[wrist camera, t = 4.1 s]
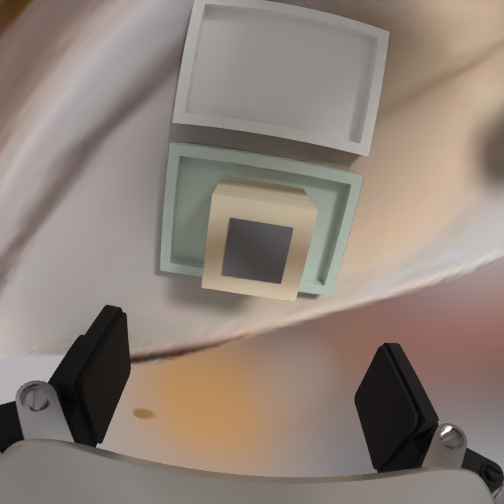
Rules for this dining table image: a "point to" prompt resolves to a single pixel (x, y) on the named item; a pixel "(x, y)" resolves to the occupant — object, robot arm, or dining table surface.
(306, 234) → the light wooden cube
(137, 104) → the dining table surface
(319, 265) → the tray sage
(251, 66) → the tray white
